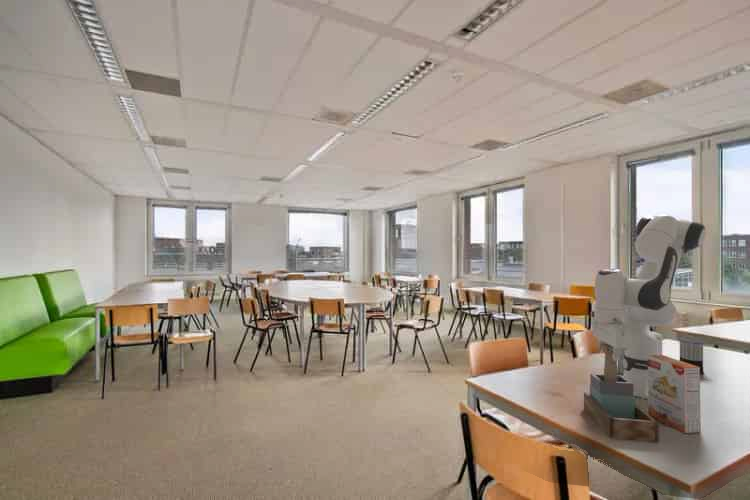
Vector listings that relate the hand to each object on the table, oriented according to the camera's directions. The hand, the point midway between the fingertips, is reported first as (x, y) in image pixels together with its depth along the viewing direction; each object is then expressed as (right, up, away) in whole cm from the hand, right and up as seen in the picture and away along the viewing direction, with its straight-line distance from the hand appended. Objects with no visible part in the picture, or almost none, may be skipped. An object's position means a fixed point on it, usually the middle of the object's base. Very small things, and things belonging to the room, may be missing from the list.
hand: (609, 356), depth 127 cm
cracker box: (+17, -21, -5) cm, 28 cm away
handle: (0, -11, -1) cm, 11 cm away
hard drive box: (+41, -21, +44) cm, 64 cm away
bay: (-1, -21, -6) cm, 21 cm away
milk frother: (+67, -22, +52) cm, 87 cm away
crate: (0, -19, -1) cm, 19 cm away
